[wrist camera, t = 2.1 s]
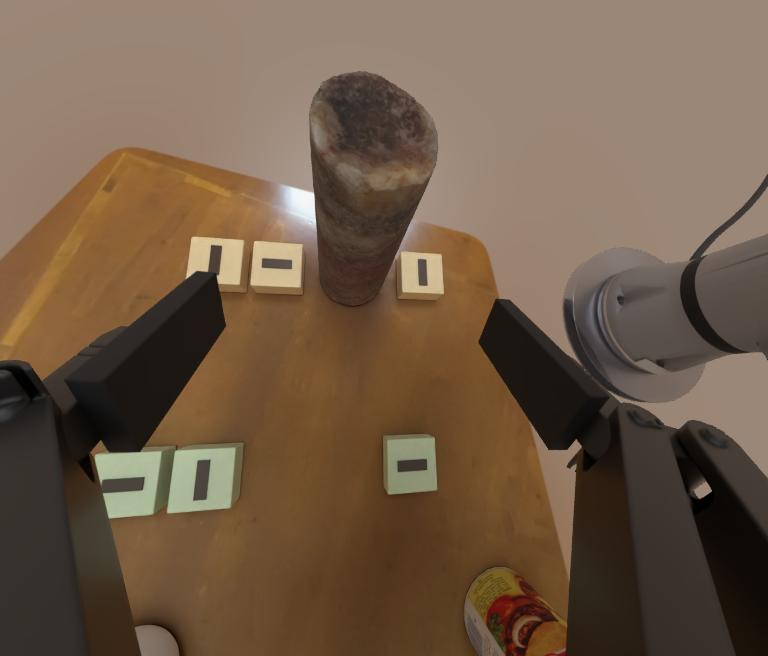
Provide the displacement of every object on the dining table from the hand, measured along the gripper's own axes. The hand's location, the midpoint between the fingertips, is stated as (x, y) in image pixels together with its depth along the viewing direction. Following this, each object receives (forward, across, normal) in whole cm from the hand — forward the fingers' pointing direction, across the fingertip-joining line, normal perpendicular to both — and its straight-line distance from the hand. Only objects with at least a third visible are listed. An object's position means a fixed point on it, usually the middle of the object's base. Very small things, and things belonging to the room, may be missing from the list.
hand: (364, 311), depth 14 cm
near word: (+5, -5, -21) cm, 22 cm away
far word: (+20, -3, -7) cm, 21 cm away
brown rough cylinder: (+20, 0, -7) cm, 21 cm away
